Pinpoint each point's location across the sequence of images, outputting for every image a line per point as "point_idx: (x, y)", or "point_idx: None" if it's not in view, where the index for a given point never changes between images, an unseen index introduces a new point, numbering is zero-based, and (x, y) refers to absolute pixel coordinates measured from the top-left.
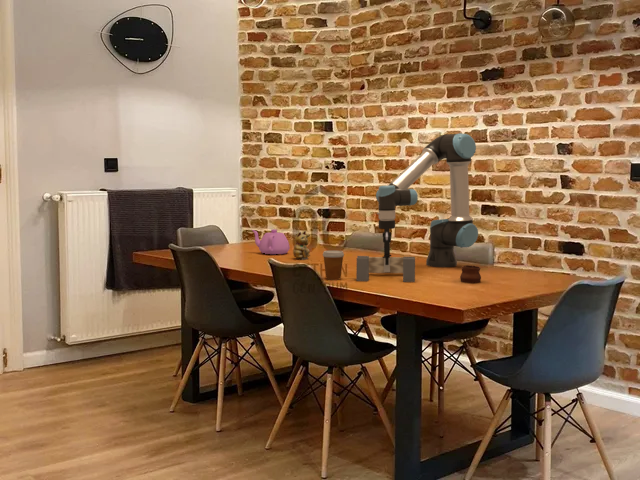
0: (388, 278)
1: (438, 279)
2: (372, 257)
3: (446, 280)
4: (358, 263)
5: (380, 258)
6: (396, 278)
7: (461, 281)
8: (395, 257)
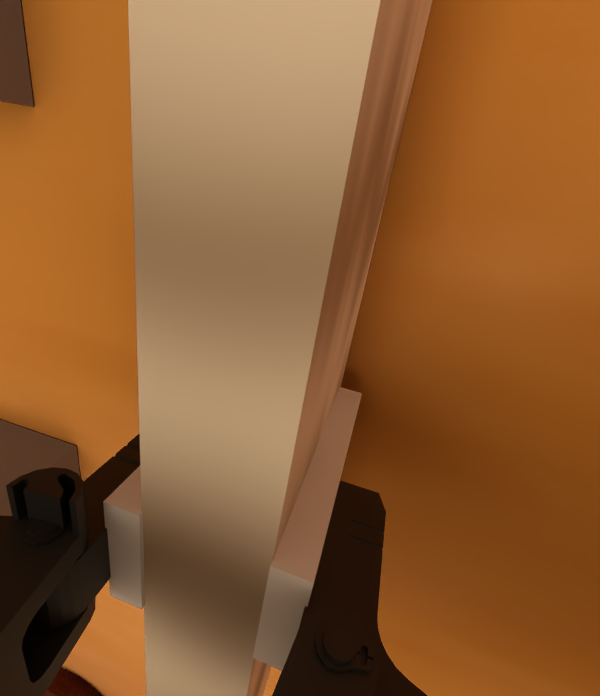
0: (92, 342)
1: (113, 626)
2: (186, 214)
3: (86, 639)
4: None
5: (154, 430)
6: (106, 410)
7: (65, 671)
8: (189, 688)
